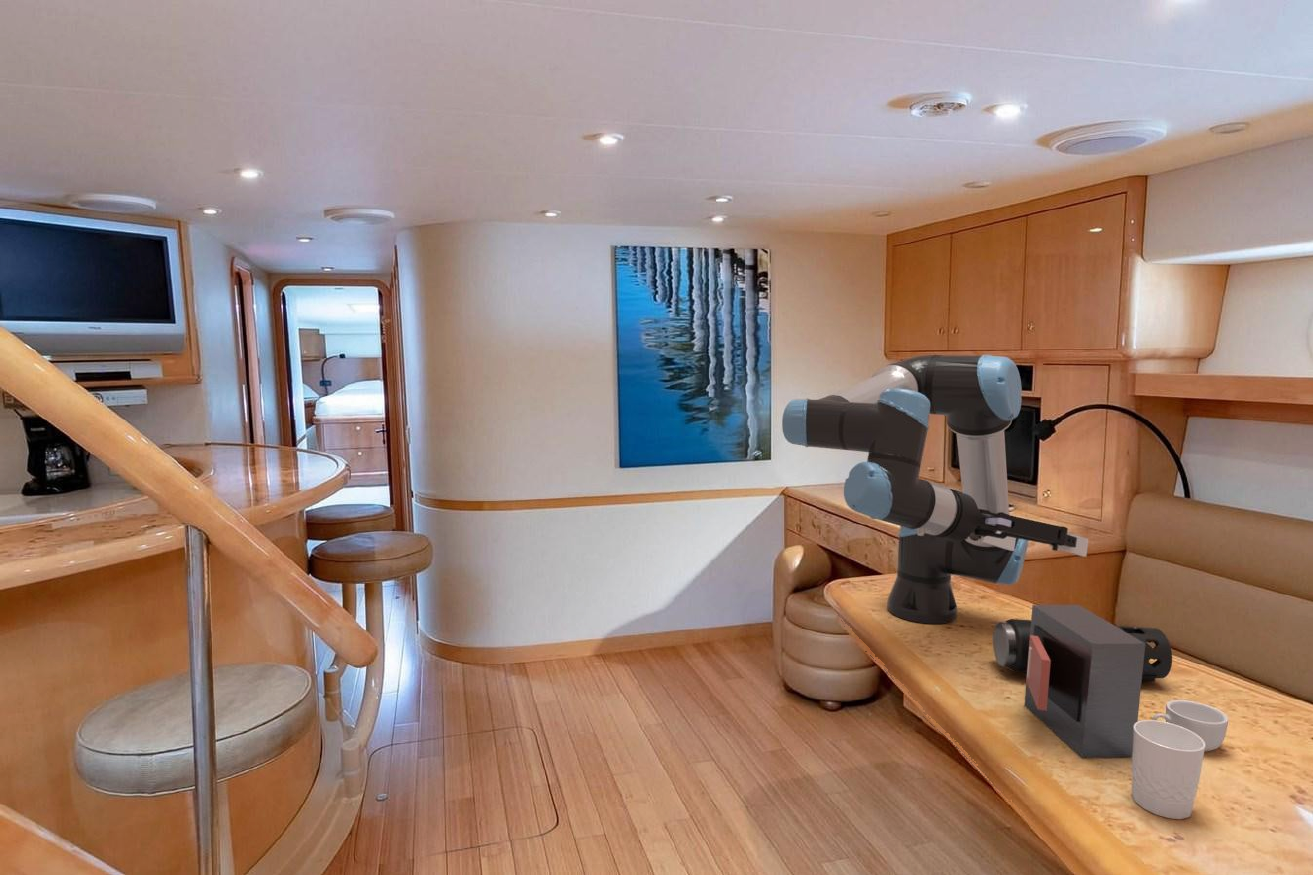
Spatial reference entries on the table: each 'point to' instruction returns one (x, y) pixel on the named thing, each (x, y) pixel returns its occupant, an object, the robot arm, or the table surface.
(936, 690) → the table surface
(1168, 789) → the white cup
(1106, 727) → the switch box
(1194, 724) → the teacup
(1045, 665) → the rocker
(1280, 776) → the table surface
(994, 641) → the muzzle brake
